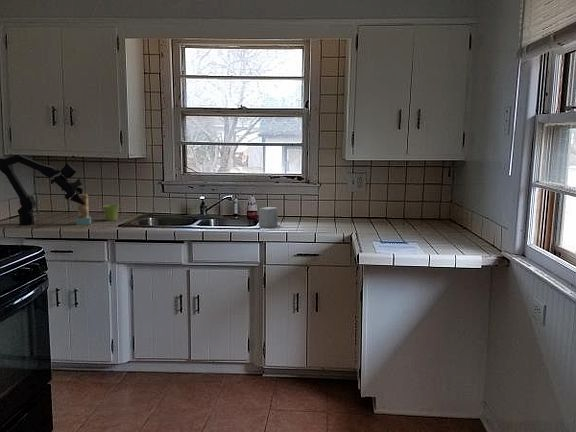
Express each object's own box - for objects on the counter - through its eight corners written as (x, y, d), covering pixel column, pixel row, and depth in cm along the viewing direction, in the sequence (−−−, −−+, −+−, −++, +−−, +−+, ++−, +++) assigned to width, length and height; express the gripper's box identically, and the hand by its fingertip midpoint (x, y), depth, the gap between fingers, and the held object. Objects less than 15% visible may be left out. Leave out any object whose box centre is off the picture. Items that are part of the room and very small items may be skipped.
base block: (76, 225, 298) (76, 218, 298) (78, 223, 305) (78, 216, 305) (89, 225, 300) (89, 218, 299) (91, 223, 307) (91, 216, 306)
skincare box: (268, 227, 296) (268, 209, 294) (258, 226, 299) (258, 208, 298) (278, 225, 305) (278, 207, 303) (268, 224, 308) (268, 206, 306)
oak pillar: (78, 218, 300) (77, 195, 298) (80, 216, 304) (80, 194, 302) (86, 218, 300) (86, 195, 298) (88, 216, 305) (88, 194, 303)
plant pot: (109, 222, 310) (108, 207, 309) (100, 220, 316) (99, 206, 314) (123, 220, 317) (122, 205, 316) (113, 218, 323) (113, 204, 322)
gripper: (69, 175, 289) (91, 195, 292) (79, 173, 307) (99, 192, 310) (55, 189, 289) (77, 209, 292) (65, 186, 308) (86, 205, 310)
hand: (85, 203), depth 301 cm, fingers open, 6 cm apart
